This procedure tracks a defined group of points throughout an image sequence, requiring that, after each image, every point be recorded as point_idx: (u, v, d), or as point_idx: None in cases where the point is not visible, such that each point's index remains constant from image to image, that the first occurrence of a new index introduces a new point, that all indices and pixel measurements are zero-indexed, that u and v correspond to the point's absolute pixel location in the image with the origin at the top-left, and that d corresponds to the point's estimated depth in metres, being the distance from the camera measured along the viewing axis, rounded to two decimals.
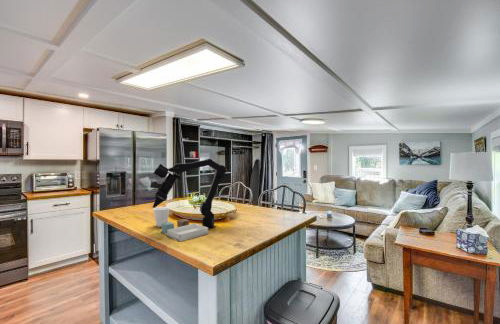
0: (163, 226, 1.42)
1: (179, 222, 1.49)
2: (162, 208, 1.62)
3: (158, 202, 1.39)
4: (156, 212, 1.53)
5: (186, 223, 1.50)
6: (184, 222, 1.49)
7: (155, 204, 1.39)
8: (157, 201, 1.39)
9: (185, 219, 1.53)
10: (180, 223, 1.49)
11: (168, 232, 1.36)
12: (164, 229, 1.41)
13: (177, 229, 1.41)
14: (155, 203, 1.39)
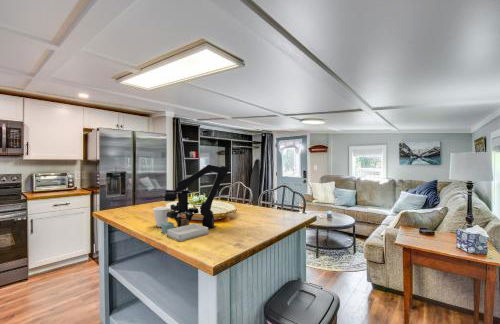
0: (163, 226, 1.42)
1: None
2: (162, 208, 1.62)
3: (178, 221, 1.48)
4: (156, 212, 1.53)
5: (186, 223, 1.50)
6: (184, 222, 1.49)
7: (177, 224, 1.49)
8: (177, 221, 1.48)
9: (185, 219, 1.54)
10: None
11: (168, 232, 1.36)
12: (164, 229, 1.41)
13: (177, 229, 1.41)
14: (177, 223, 1.49)
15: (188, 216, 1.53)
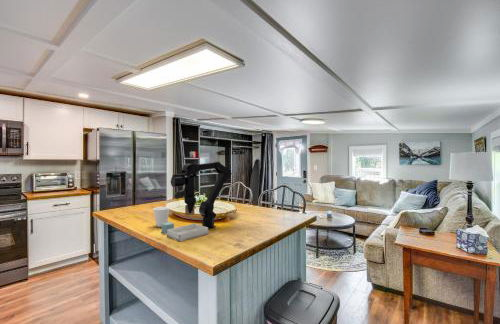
0: (163, 226, 1.42)
1: None
2: (162, 208, 1.62)
3: (191, 206, 1.42)
4: (156, 212, 1.53)
5: None
6: None
7: (190, 209, 1.42)
8: (190, 206, 1.42)
9: None
10: None
11: (168, 232, 1.36)
12: (164, 229, 1.41)
13: (177, 229, 1.41)
14: (189, 209, 1.42)
15: None
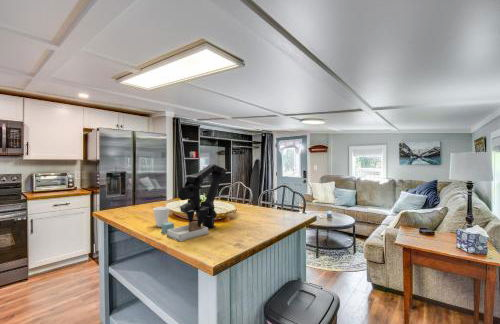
0: (163, 226, 1.42)
1: (197, 224, 1.40)
2: (162, 208, 1.62)
3: (201, 219, 1.39)
4: (156, 212, 1.53)
5: None
6: None
7: (200, 222, 1.39)
8: (200, 219, 1.38)
9: (191, 222, 1.43)
10: None
11: (168, 232, 1.36)
12: (164, 229, 1.41)
13: (177, 229, 1.41)
14: (199, 222, 1.38)
15: (191, 213, 1.46)
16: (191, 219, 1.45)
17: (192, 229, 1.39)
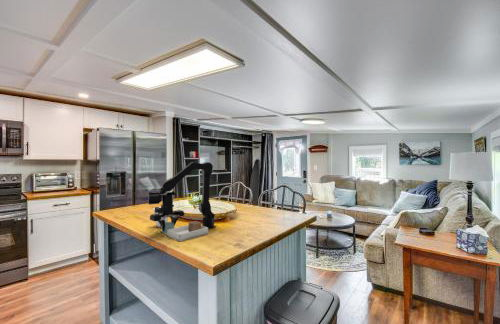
0: None
1: (197, 224, 1.40)
2: None
3: (162, 225, 1.41)
4: None
5: None
6: None
7: (162, 227, 1.42)
8: (161, 224, 1.41)
9: (191, 222, 1.43)
10: (199, 225, 1.41)
11: (168, 232, 1.36)
12: None
13: (177, 229, 1.41)
14: (161, 226, 1.42)
15: (173, 219, 1.46)
16: None
17: (192, 229, 1.39)
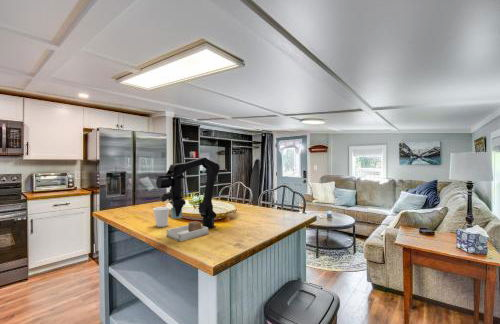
0: None
1: (197, 224, 1.40)
2: (162, 208, 1.62)
3: (179, 209, 1.35)
4: (156, 212, 1.53)
5: None
6: None
7: (177, 212, 1.35)
8: (177, 209, 1.34)
9: (191, 222, 1.43)
10: (199, 225, 1.41)
11: (168, 232, 1.36)
12: (179, 214, 1.36)
13: (177, 229, 1.41)
14: (177, 211, 1.34)
15: None
16: None
17: (192, 229, 1.39)
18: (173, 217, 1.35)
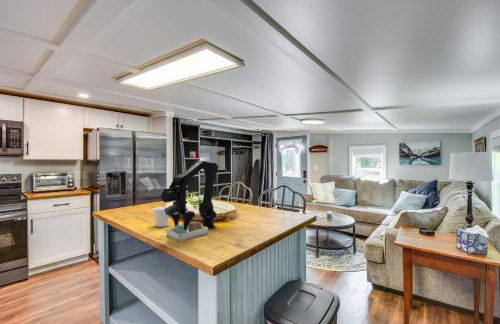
0: (182, 228, 1.34)
1: (197, 224, 1.40)
2: (162, 208, 1.62)
3: (187, 222, 1.32)
4: (156, 212, 1.53)
5: None
6: None
7: (186, 226, 1.32)
8: (186, 222, 1.32)
9: (191, 222, 1.43)
10: (199, 225, 1.41)
11: (168, 232, 1.36)
12: (185, 231, 1.35)
13: None
14: (185, 225, 1.31)
15: (177, 215, 1.39)
16: (177, 222, 1.39)
17: (192, 229, 1.39)
18: None
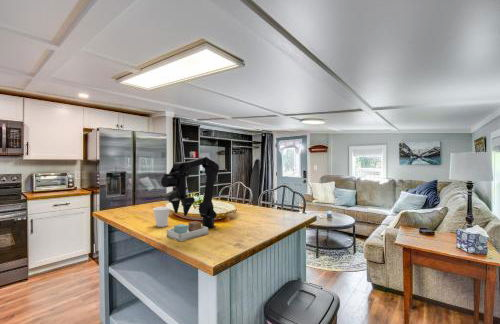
0: (182, 228, 1.34)
1: (197, 224, 1.40)
2: (162, 208, 1.62)
3: (187, 208, 1.32)
4: (156, 212, 1.53)
5: None
6: None
7: (186, 212, 1.32)
8: (186, 208, 1.31)
9: (191, 222, 1.43)
10: (199, 225, 1.41)
11: (168, 232, 1.36)
12: (185, 231, 1.35)
13: None
14: (185, 211, 1.31)
15: (177, 202, 1.39)
16: (176, 208, 1.39)
17: (192, 229, 1.39)
18: None
